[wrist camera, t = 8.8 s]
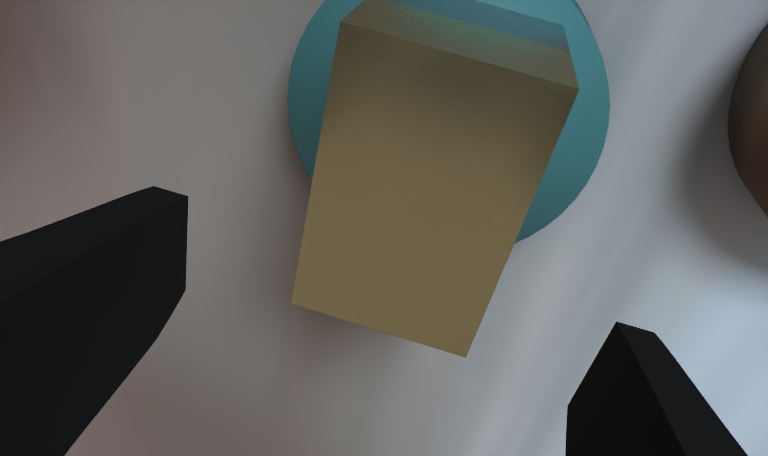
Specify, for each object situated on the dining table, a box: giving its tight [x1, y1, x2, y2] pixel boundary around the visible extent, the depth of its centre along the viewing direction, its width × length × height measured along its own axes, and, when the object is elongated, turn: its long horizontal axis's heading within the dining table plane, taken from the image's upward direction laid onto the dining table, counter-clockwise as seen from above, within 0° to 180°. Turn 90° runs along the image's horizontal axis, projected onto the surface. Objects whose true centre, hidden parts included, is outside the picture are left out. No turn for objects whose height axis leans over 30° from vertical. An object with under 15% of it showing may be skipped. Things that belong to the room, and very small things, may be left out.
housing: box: [291, 0, 579, 357], centre depth 15 cm, size 7×4×5 cm, turn 167°
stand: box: [288, 0, 610, 243], centre depth 18 cm, size 9×9×2 cm
